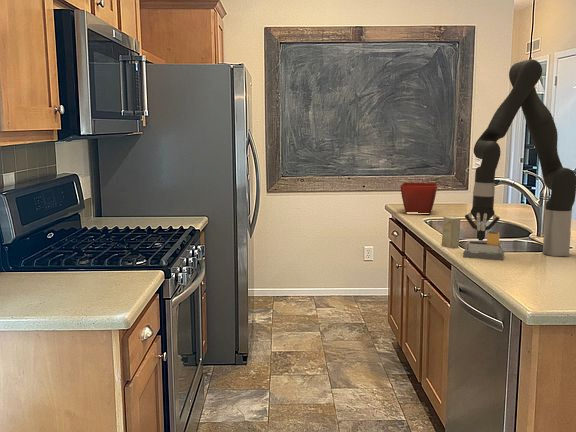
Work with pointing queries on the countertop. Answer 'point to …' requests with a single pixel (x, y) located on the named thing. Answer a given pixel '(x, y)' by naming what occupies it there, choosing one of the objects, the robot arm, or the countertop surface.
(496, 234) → the toggle
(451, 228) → the skincare box
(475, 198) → the robot arm
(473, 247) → the grey tray
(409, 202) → the plant pot
